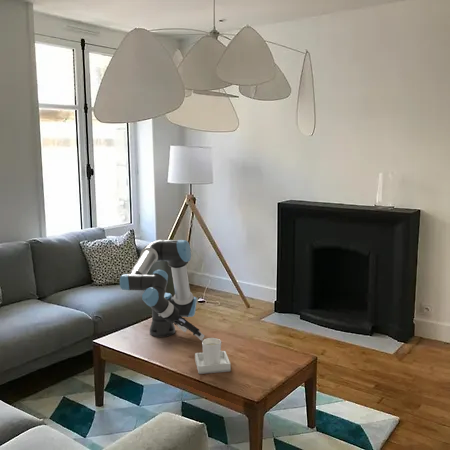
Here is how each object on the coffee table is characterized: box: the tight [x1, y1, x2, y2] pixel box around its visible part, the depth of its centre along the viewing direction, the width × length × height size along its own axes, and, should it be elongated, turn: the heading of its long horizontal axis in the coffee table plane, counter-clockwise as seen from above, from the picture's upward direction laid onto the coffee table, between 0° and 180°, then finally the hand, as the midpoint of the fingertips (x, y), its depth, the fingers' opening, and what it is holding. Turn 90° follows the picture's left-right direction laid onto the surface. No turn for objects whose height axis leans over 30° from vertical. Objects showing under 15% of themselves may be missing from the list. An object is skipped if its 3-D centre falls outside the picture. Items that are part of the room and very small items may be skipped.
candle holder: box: [201, 337, 222, 365], centre depth 265 cm, size 10×10×12 cm
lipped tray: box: [194, 350, 232, 375], centre depth 265 cm, size 16×16×4 cm
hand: (194, 333), depth 255 cm, fingers open, 13 cm apart
